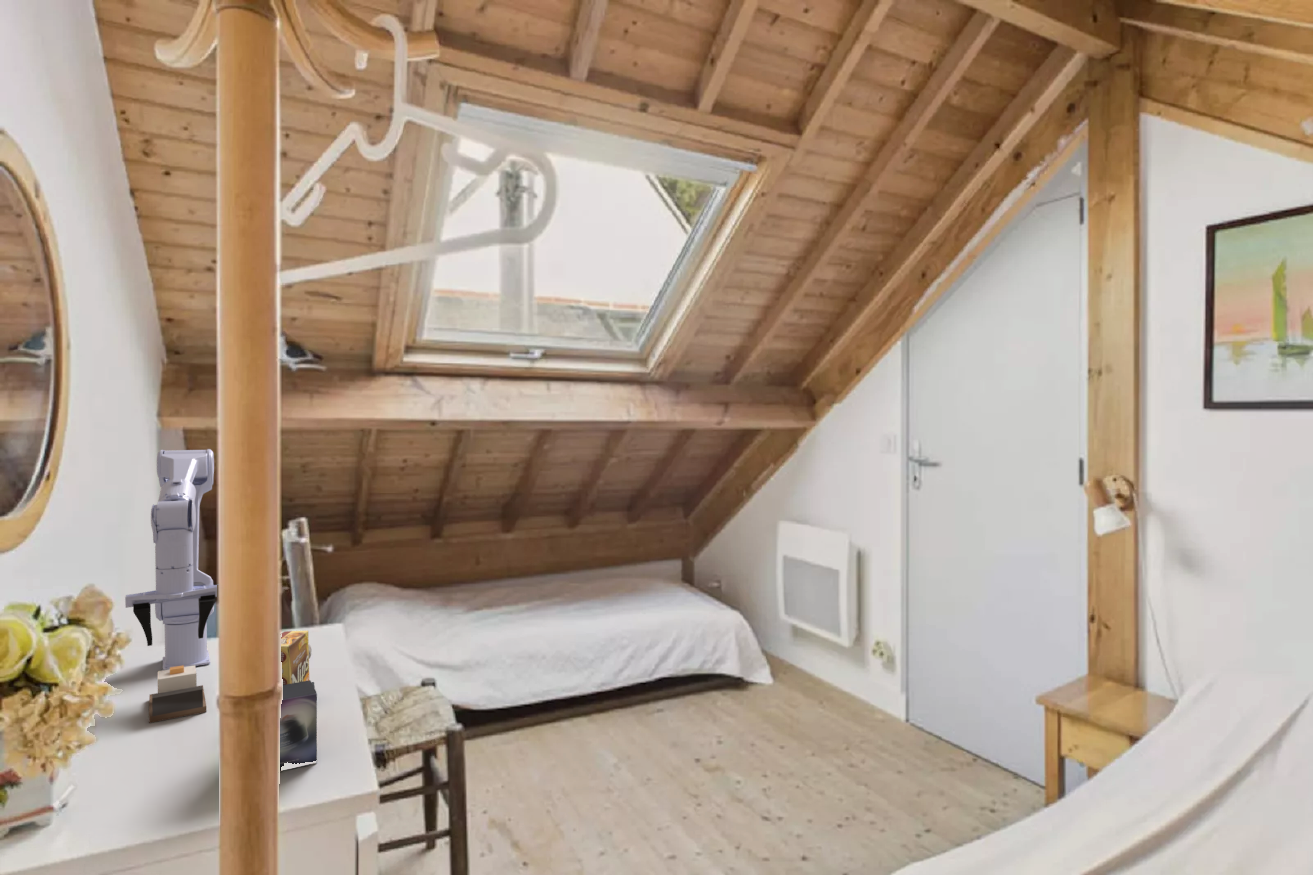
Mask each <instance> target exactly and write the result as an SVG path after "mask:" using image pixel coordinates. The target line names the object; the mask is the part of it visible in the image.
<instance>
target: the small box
mask: <svg viewBox="0 0 1313 875" xmlns="http://www.w3.org/2000/svg"><path fill="white" fill-rule="evenodd" d="M312 682H313V681H312V680H310V679H309V681H303V682H298V683H292V684H286V685H283V700H282V704H281V718H280V771H281V767H282V766H284V763H287V762H288V763H292V764H294V763H295V764H297V763H299V764H300V763H305V762H313V761H316V760H317V761H318V757H317V756H318V749H317V748H318V744H317V743H318V742H317V741H318V738H317V737H318V732H317V730H318V727H317V726H318V724H317V722H318V721H317V719H318V718H317V717H318V716H317V715H318V713H317V712H318V711H317V710H318V707H317V706H318V702H317V701H318V693H317V691H316V688H314V686H315V685H314V686H313V684H312ZM281 772H282V771H281Z"/></svg>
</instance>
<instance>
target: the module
mask: <svg viewBox="0 0 1313 875" xmlns="http://www.w3.org/2000/svg"><path fill="white" fill-rule="evenodd" d="M196 667H197V666H195V665H193V666H187V667H184V665H182V666H176V667H170V669H169V670H163V669H162V670H158V671H157V693H163V692H169V691H175V690H180V689H186V688H192V687H197V686H198V684H197V669H196Z"/></svg>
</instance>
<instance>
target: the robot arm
mask: <svg viewBox="0 0 1313 875" xmlns="http://www.w3.org/2000/svg"><path fill="white" fill-rule="evenodd" d="M214 472H215V454H214V451H213V450H212V449H211V448H206V449H178V450H177V449H174V450H172V449H171V450H170V449H169V450H167V449H166V450H165V449H160V450H159V452H157V454H156V473H157V477H158V482H159V486H160V492H159V497H158V500H157V504H152V505H151V509H150V526H151V530H152V538H153V539H152V540H153V544H154V545H155V546H154V548H155V550H154V552H155V556H154V557H155V558H154V559H155V562H154V563H155V590H149V591H145V592H138V593H131V594H125V596H124V598H125V599H124V600H125V601H124V602H125V605H124V606H125V608H132V609H133V612H132V613H133V614H134V615H135V617H136V619H137V620H138V622H139V623H140V626H141V628H142V630H143V632H144V635H145V638H146V644H147V645H146V646H147V647H150V646H153V632H152V625H151V624H152V622H151V620H152V618H151V617H152V615H151V614H152V613H151V612H152V611H151V605H154V612H155V613H154V614H155V618H156V619H157V620H158V621H160V622H161V621H162V625H164V656H163V657H162V671H163V670H169V669H170V667H176V666H182V665H184V667H187V666H193V665H195V667H198V666H204V665H210V664H211V658H210V654H209V653H210V652H209V650H208V634H207V633H208V632H207V631H208V628H207V627H208V626H207V622H208V618H209V616H211V615H212V614H213V613H214V610H215V603H216V598H218V597H217V585H218V584H214V580H213V579H212V576H210V575H208V574H207V573H205V572H203V571H201V570H199V554H200V553H199V546H200V544H199V543H200V507H201V506H200V505H201V502H202V498H203V496H204V494H206V493H208V492H209V491H212V490H213V486H214V475H215V473H214Z"/></svg>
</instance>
